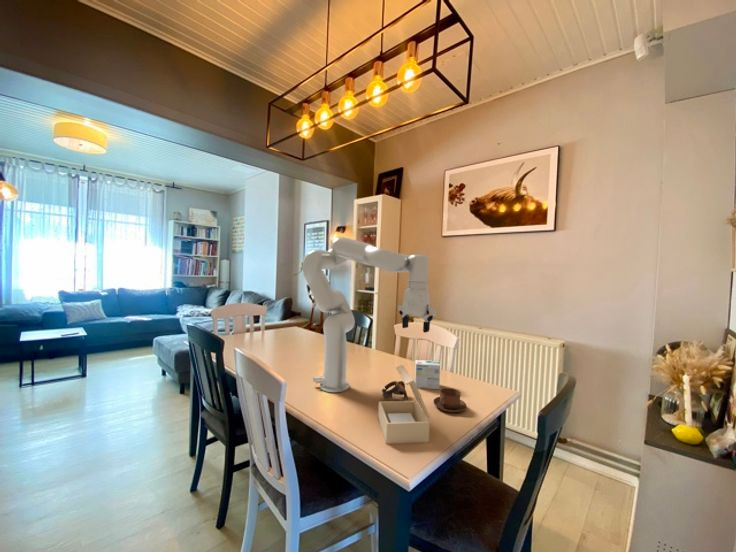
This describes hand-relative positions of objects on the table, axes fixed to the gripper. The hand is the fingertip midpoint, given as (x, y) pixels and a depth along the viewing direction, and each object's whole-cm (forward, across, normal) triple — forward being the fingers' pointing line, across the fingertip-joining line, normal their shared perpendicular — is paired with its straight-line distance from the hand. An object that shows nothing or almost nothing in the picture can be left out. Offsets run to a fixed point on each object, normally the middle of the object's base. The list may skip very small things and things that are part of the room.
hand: (415, 329), depth 120 cm
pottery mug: (+28, -5, -4) cm, 29 cm away
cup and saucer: (+28, +13, +5) cm, 32 cm away
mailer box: (+28, +10, -21) cm, 37 cm away
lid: (+16, +11, -20) cm, 28 cm away
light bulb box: (+28, -4, +18) cm, 34 cm away
